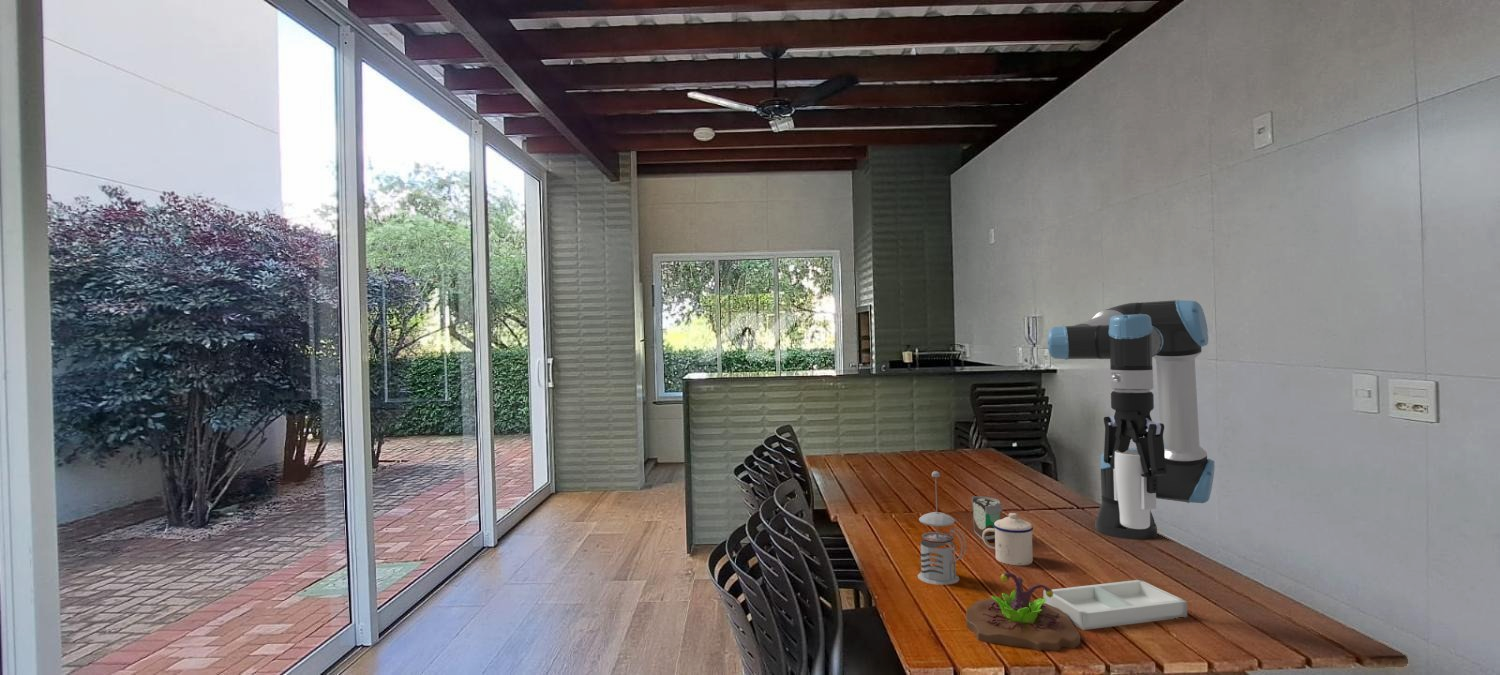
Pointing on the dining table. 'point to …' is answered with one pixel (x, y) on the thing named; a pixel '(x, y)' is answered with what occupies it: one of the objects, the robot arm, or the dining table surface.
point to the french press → (946, 570)
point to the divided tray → (1116, 604)
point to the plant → (1022, 620)
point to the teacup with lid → (1012, 540)
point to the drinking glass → (1130, 490)
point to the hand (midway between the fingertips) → (1134, 503)
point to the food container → (985, 515)
